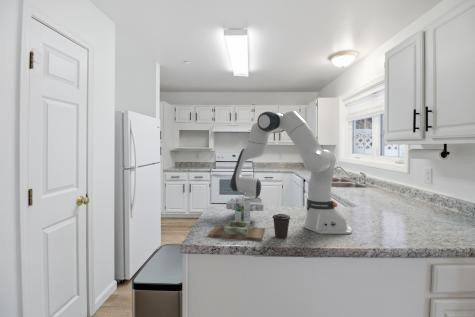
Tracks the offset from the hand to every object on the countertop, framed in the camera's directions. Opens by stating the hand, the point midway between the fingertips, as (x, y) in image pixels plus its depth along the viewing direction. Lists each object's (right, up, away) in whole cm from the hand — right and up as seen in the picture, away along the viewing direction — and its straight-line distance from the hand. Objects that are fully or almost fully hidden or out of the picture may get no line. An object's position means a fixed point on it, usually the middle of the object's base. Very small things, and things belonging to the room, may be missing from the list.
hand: (242, 209), depth 137 cm
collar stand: (-3, -9, -12) cm, 16 cm away
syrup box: (0, -8, 0) cm, 9 cm away
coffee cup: (+17, -10, -16) cm, 25 cm away
